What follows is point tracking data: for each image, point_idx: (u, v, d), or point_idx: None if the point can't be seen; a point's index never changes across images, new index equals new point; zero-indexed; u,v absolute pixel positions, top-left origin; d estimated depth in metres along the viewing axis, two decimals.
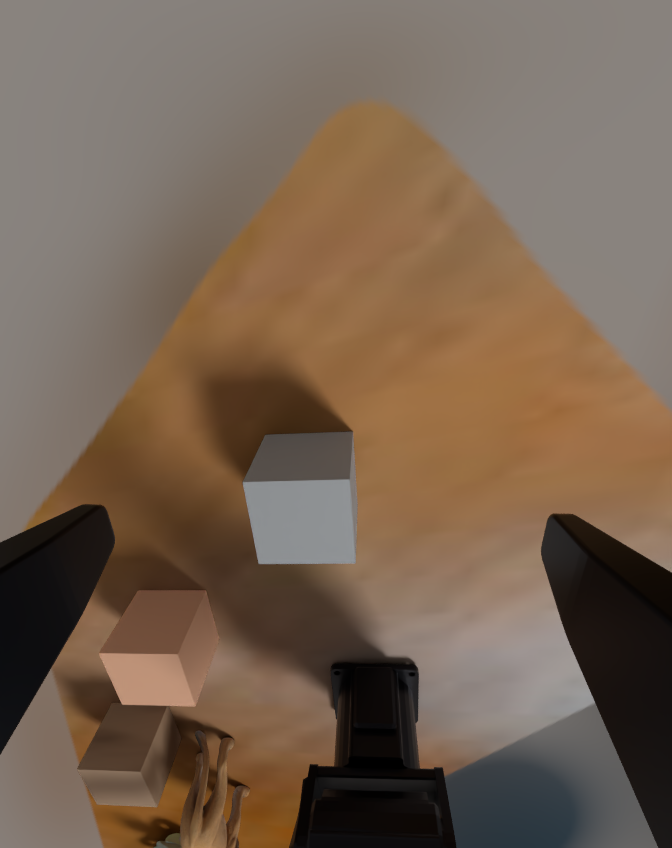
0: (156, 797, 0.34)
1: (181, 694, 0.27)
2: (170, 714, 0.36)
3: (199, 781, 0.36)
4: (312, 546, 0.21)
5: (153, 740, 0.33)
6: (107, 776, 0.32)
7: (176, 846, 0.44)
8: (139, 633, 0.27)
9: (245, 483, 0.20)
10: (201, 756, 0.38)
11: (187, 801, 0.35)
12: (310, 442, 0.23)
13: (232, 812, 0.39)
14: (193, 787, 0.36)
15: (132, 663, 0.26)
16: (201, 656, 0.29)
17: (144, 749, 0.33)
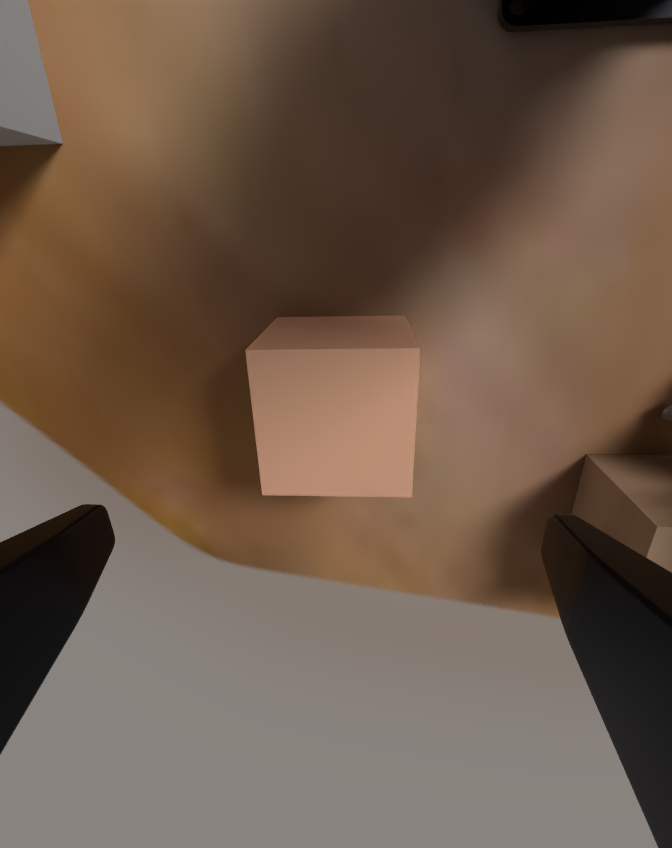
0: None
1: (377, 370, 0.12)
2: (616, 456, 0.18)
3: None
4: None
5: (622, 490, 0.16)
6: None
7: None
8: None
9: None
10: None
11: None
12: None
13: None
14: None
15: (282, 444, 0.14)
16: (356, 331, 0.14)
17: (628, 509, 0.15)
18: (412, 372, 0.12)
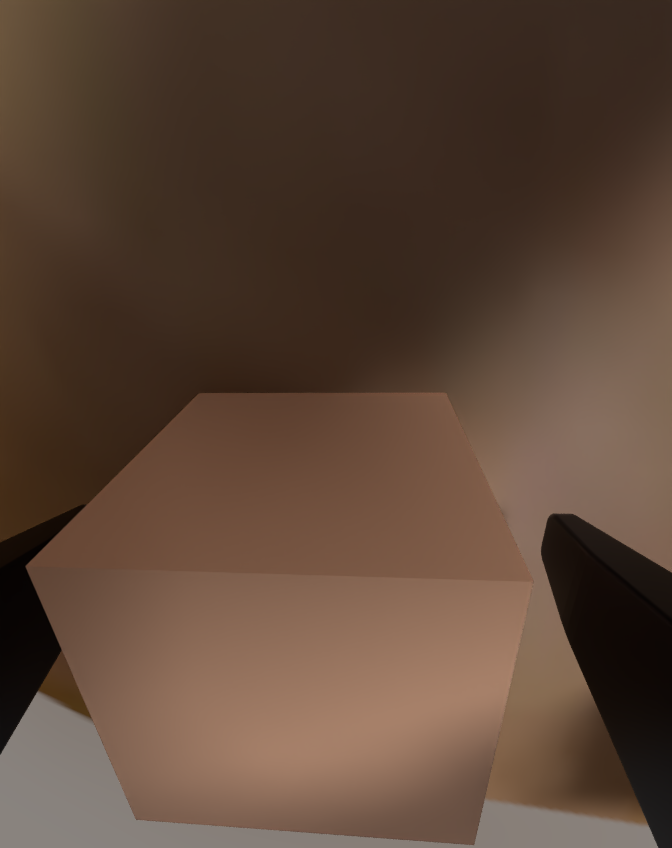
0: None
1: (401, 626, 0.04)
2: None
3: None
4: None
5: None
6: None
7: None
8: None
9: None
10: None
11: None
12: None
13: None
14: None
15: (165, 747, 0.06)
16: (346, 461, 0.06)
17: None
18: (502, 633, 0.04)
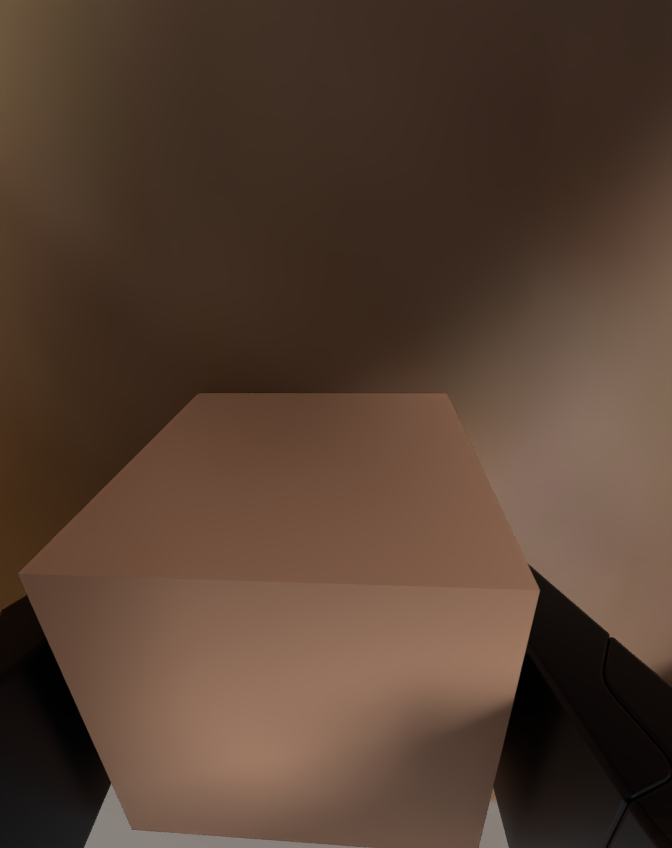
0: None
1: (403, 634, 0.04)
2: None
3: None
4: None
5: None
6: None
7: None
8: None
9: None
10: None
11: None
12: None
13: None
14: None
15: (162, 758, 0.05)
16: (347, 465, 0.06)
17: None
18: (507, 642, 0.04)
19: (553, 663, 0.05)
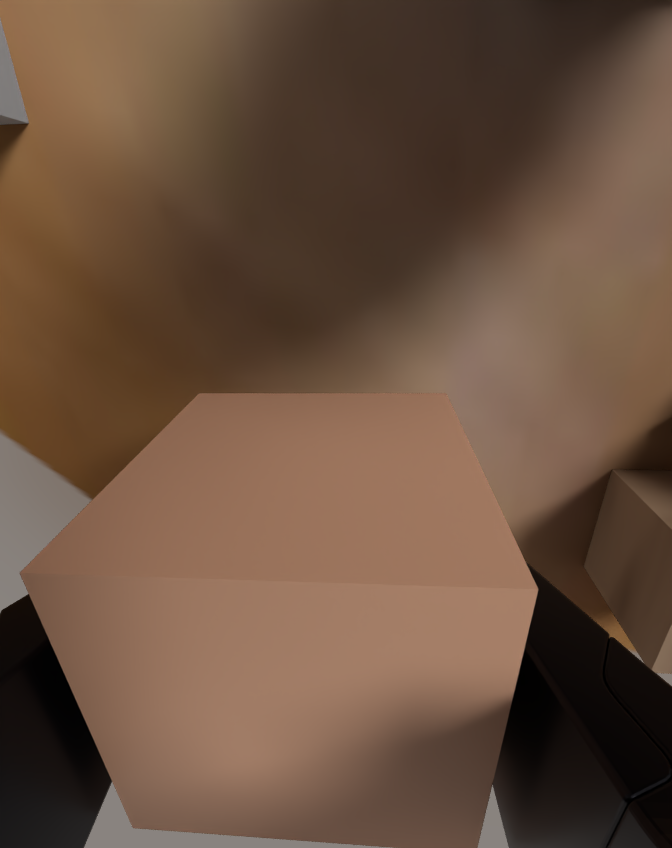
0: None
1: (403, 633, 0.04)
2: (644, 472, 0.16)
3: None
4: None
5: (656, 512, 0.14)
6: None
7: None
8: None
9: None
10: None
11: None
12: None
13: None
14: None
15: (162, 756, 0.05)
16: (347, 465, 0.06)
17: (663, 535, 0.14)
18: (506, 641, 0.04)
19: (553, 663, 0.05)
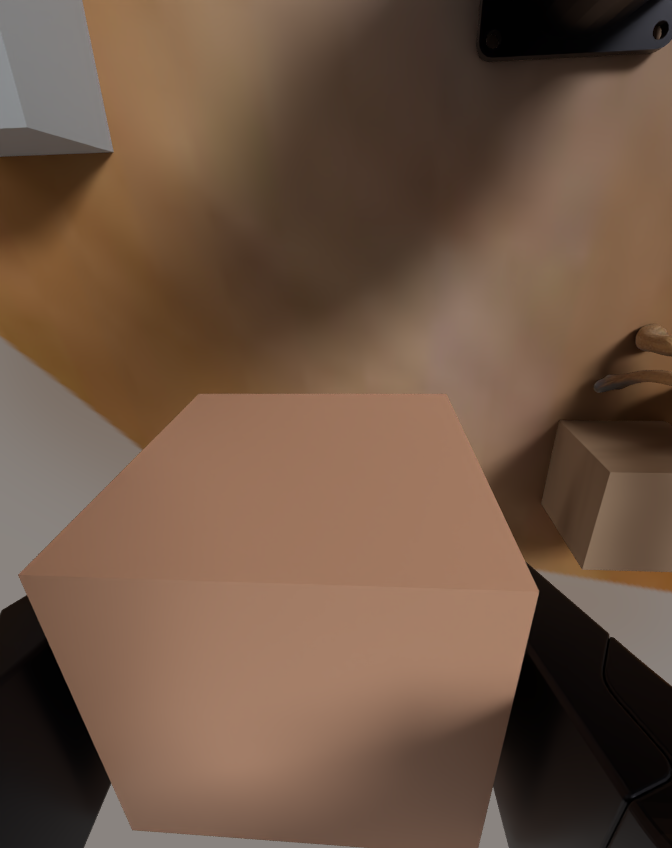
0: None
1: (403, 636, 0.04)
2: (584, 422, 0.21)
3: None
4: None
5: (585, 446, 0.19)
6: (612, 529, 0.18)
7: None
8: None
9: None
10: None
11: None
12: None
13: None
14: None
15: (161, 758, 0.05)
16: (347, 466, 0.06)
17: (589, 462, 0.18)
18: (507, 644, 0.04)
19: (553, 663, 0.05)
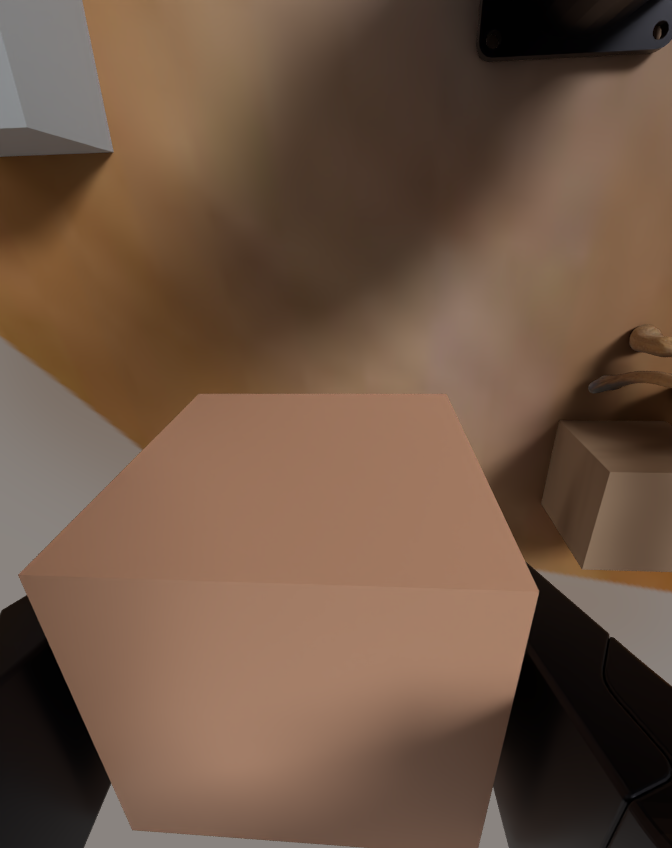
0: None
1: (403, 636, 0.04)
2: (584, 422, 0.21)
3: None
4: None
5: (585, 446, 0.19)
6: (612, 529, 0.18)
7: None
8: None
9: None
10: None
11: None
12: None
13: None
14: None
15: (161, 758, 0.05)
16: (347, 466, 0.06)
17: (589, 462, 0.18)
18: (506, 644, 0.04)
19: (553, 663, 0.05)
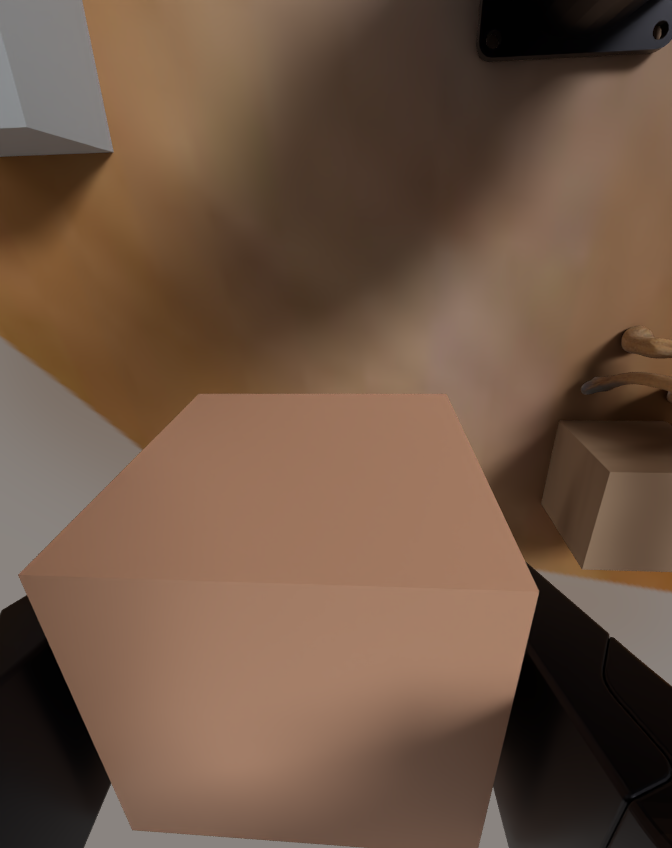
0: None
1: (403, 636, 0.04)
2: (584, 422, 0.21)
3: None
4: None
5: (585, 446, 0.19)
6: (612, 529, 0.18)
7: None
8: None
9: None
10: (668, 393, 0.20)
11: None
12: None
13: None
14: None
15: (161, 758, 0.05)
16: (347, 466, 0.06)
17: (589, 462, 0.18)
18: (506, 644, 0.04)
19: (553, 663, 0.05)
